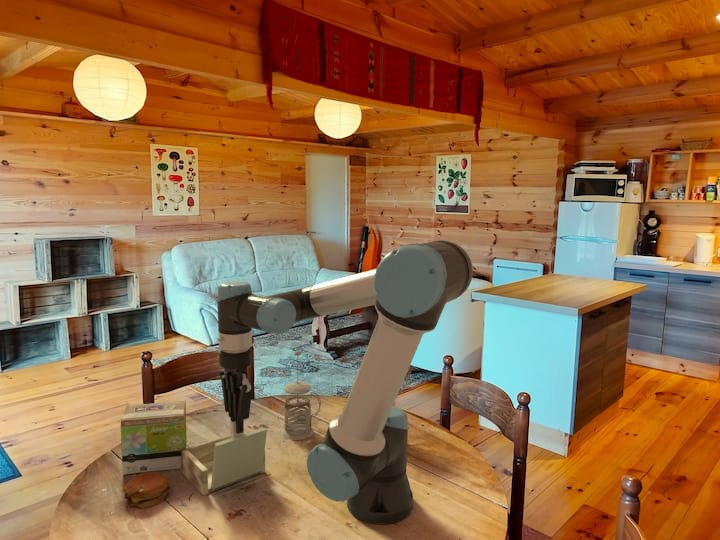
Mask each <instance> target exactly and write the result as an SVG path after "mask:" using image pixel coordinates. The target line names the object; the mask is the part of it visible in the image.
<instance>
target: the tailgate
mask: <svg viewBox="0 0 720 540" xmlns="http://www.w3.org/2000/svg"><path fill="white" fill-rule="evenodd" d="M267 434H268V428H266V427H262V428H260V429H256V430H253V431H250V432H247V433H244V434H243V435H240V436H237V437H234V438H230V439H227V440H224V441H221V442H218V443H215V445H214V458H213V470H212V483H211V488H210V490H211V492H210V493H212V492H215V491H218V490H220V489H223V488H226V487H228V486H230V485H233V484H236V483H239V482H241V481H244V480H246V479H249V478H251V477H254V476H256V475H259V474H262V473H261V471H262V469H263V460H264V451H265V452H266V441H267Z"/></svg>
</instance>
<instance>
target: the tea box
mask: <svg viewBox="0 0 720 540" xmlns="http://www.w3.org/2000/svg"><path fill="white" fill-rule="evenodd" d="M186 403H187V402H186V400H180V401H177V400H176V401H167V402H155V403H154V402H153V403H140V404H128V405H127V404H126V407H125V408H124V412H123V415H122V418H121V420H120V443H121V466H122V469H121V470H122V475H123V476H124V475H131V474H138V473H139V474H140V473H145V472H157V471H158V472H159V471H167V470H169V471H171V470H178V469H181V470H182V466H181V449H185V448H187V407H186V406H187V404H186Z"/></svg>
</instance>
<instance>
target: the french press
mask: <svg viewBox="0 0 720 540" xmlns="http://www.w3.org/2000/svg"><path fill="white" fill-rule="evenodd" d="M301 355H302V352H301V351H300V350H295V351H294V356H297V357H296V359H297V360H296V361H297V364H296V365H297V366H296V367H297V368H296V369H297V373H296V375H297V378H296V379H297V381H291V382H290V383H288V384H286V385H284V387H283V391H284V392H285V393H286V394H289V395H294V396H291V397H288V398H287V399H285V405H284V428H283V429H282V430H281V432H280V433H281V435H282V437H283V438H285V439H288V440H293V441H296V440H297V441H298V440H301V441H302V440H305V439H308V438H311V437H312V436H313V435H314V433H315V429H314V428H313V427H312V418H315V417H316V416H318V415H319V412H320V409H321V405H322V404H321V403H322V401H321V398H320V396H319V395H318V394H317V393H316V392H314V391H311V390H312V386H311V385H310V384H308V383H307V382H305V381H299V356H301ZM309 392H310V394H309V398H308V397H305V396H301V395H305V394H308V393H309ZM295 395H296V396H295ZM312 396H313V397H315V398H316V399H317V402H318V410H317V411H316V412H315V413H313V414H311V413H312V412H311V411H312V409H311V407H312V405H311V403H310V402H311V400H310V399H311V398H312ZM293 408H294V409H293ZM291 409H292V410H291Z"/></svg>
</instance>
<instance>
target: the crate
mask: <svg viewBox="0 0 720 540" xmlns="http://www.w3.org/2000/svg"><path fill="white" fill-rule="evenodd" d="M230 438H231V433H230V434H227V435H223V436H220V437H217V438H214V439H213V438H212V439H210V440H207V441H204V442H201V443H198V444H194V445H191V446H188V447H186V448H185V449H181V466H182V469H181V473H182V474H183V475H184V476H185V477H186V478H187V479H188V480H189V482H191V484H192V485H193V486H194V487H195V488H196V489H197V490H198V491H199V492H200V493H201V494H202V495H203V496H205V495H207V494H209V493H212V492H211V490H210V488H211V483H212V470H213V458H214V445H215V443H218V442H221V441H224V440H227V439H230ZM265 472H266V450H265V451H264V460H263V469H262V471H261V473H260V474H262V473H263V474H264V473H265Z"/></svg>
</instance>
